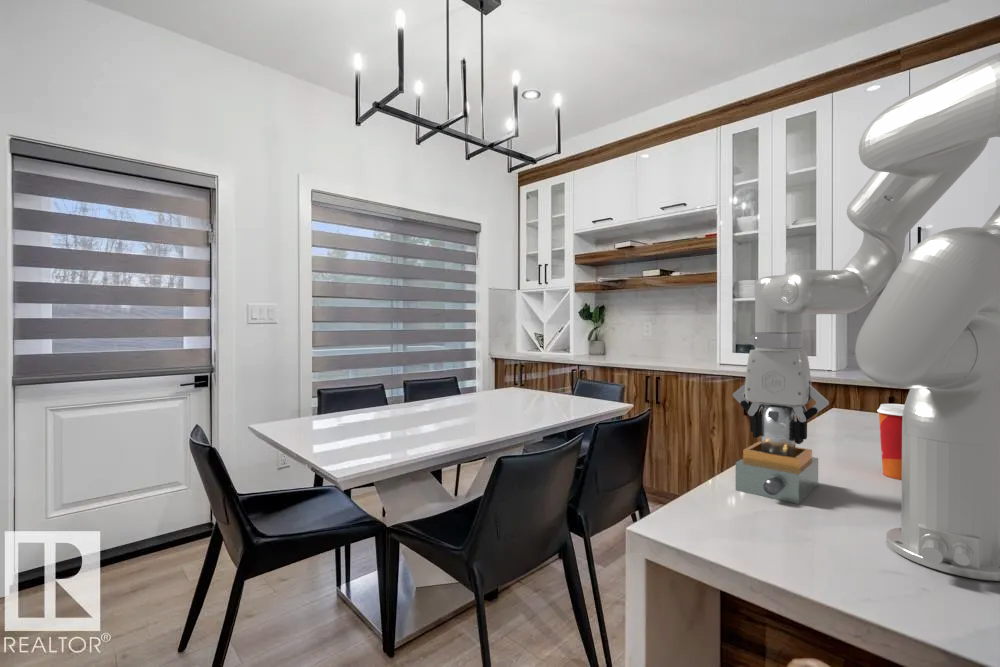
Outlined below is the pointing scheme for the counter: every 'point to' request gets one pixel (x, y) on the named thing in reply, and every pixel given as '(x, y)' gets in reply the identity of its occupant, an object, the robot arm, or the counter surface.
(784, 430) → the spout can
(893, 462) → the paper cup
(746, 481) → the box
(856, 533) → the counter surface
